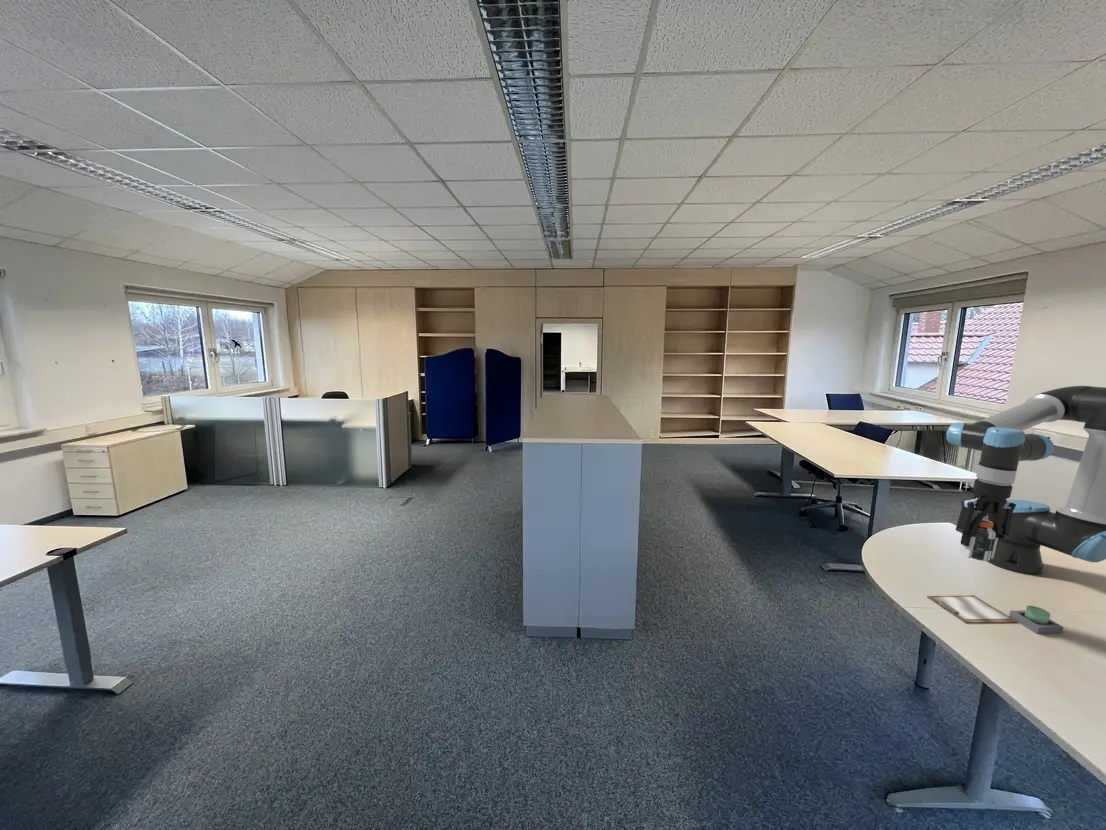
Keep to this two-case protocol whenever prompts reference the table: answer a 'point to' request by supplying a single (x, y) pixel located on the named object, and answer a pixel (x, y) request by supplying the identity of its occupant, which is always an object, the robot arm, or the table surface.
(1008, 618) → the clipboard
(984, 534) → the pill bottle
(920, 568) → the table surface
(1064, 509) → the robot arm
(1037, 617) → the button
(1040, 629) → the button frame
